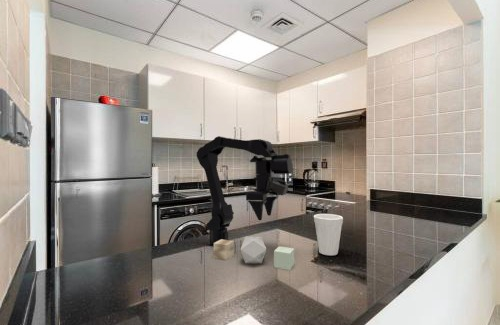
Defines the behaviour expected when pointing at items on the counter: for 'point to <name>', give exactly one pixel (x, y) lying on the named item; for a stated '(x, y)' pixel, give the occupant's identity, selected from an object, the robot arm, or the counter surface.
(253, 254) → the die
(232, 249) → the birch block
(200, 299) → the counter surface
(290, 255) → the sage block
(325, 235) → the cup
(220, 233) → the robot arm
